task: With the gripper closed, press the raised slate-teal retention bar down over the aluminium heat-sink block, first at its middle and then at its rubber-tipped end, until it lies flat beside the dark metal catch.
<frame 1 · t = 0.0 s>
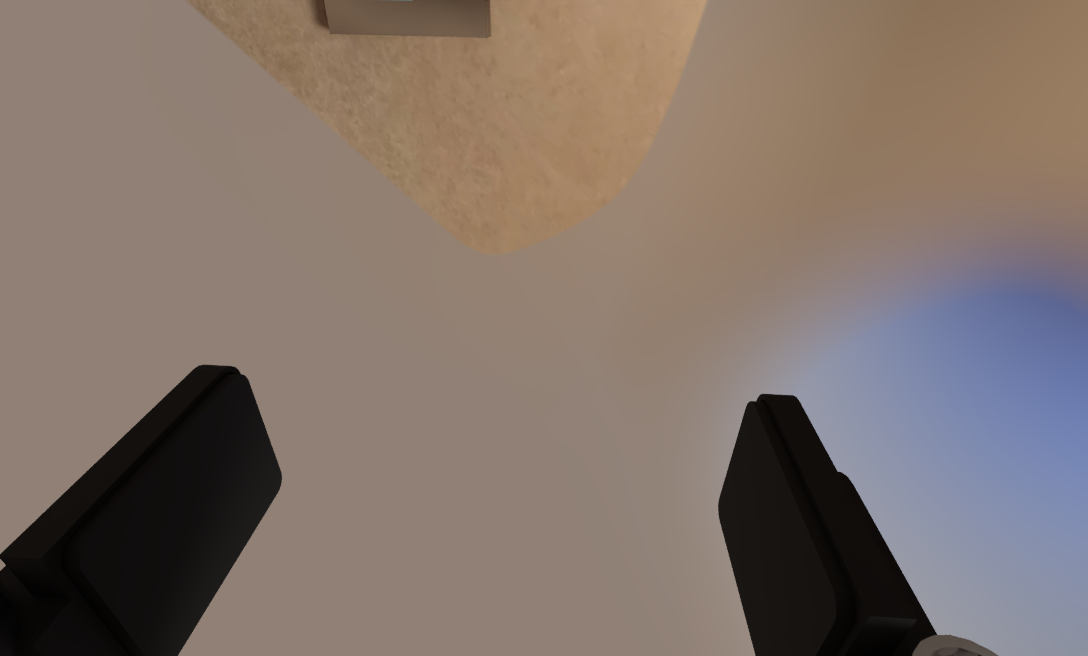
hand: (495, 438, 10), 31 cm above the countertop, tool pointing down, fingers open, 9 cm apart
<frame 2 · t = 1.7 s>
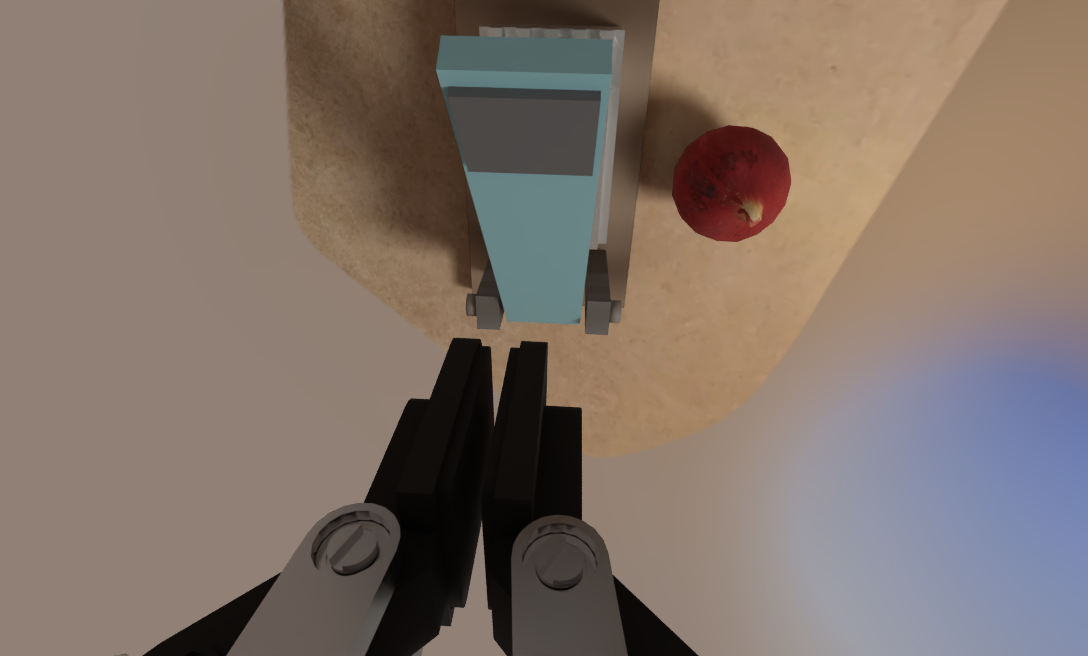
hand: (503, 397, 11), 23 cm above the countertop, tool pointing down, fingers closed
heat sink: (553, 124, 30), resting on clip base
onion: (713, 164, 31), on the countertop
clip base: (553, 115, 30), on the countertop
retention bar: (538, 241, 21), point 12 cm above the countertop, hinge at 40.0°
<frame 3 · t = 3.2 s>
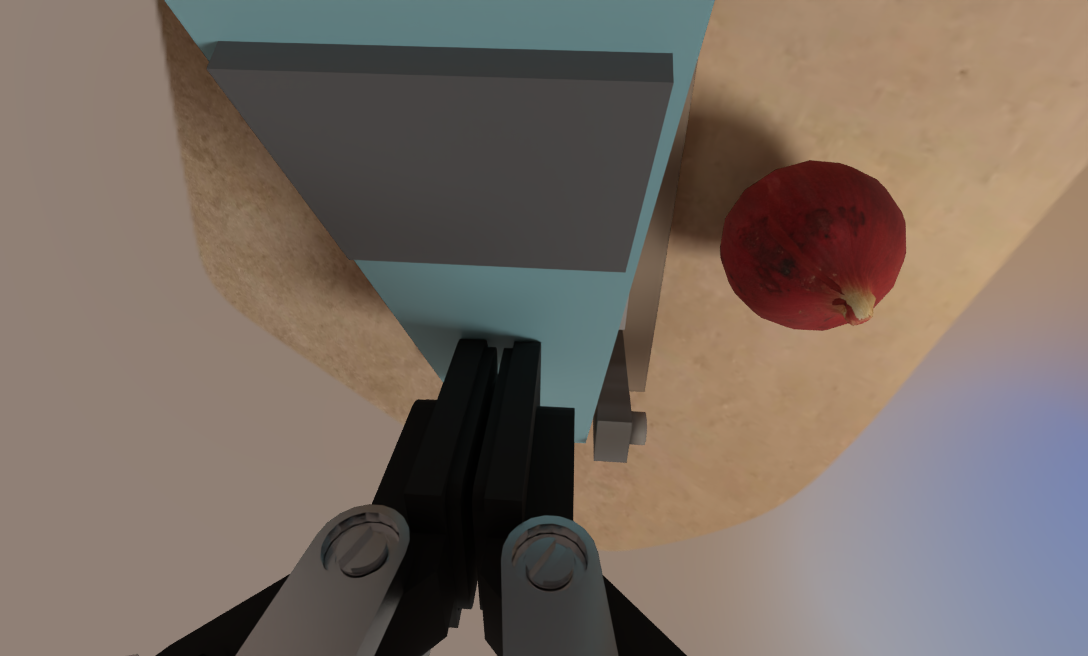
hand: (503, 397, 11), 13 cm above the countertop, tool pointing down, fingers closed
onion: (774, 207, 22), on the countertop
clip base: (550, 139, 21), on the countertop
retention bar: (518, 356, 12), point 12 cm above the countertop, hinge at 34.6°, touching gripper
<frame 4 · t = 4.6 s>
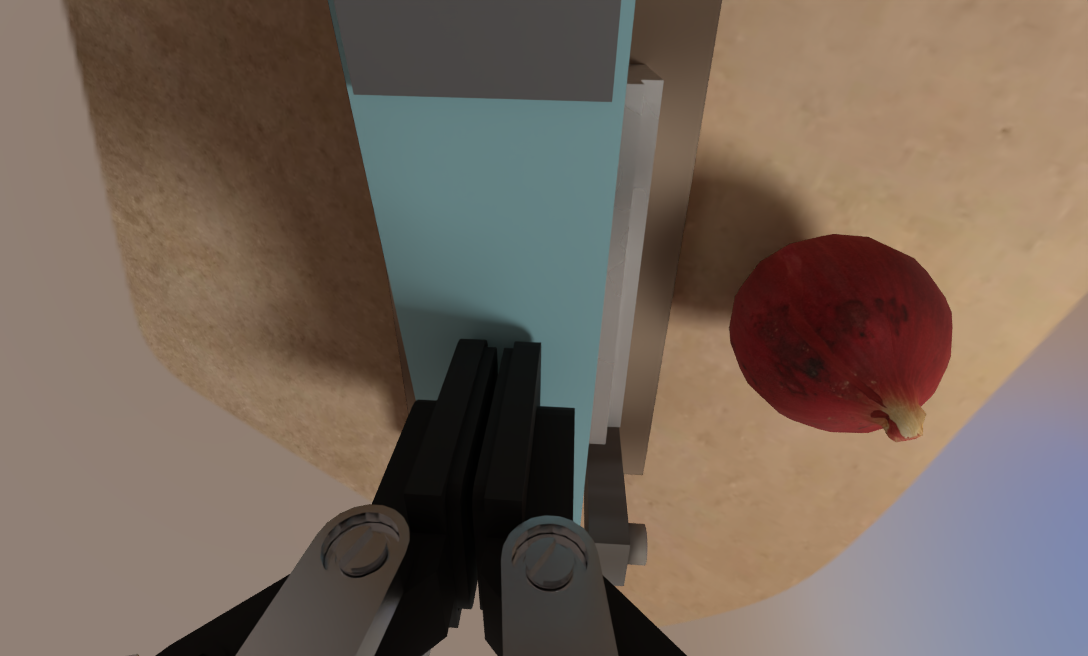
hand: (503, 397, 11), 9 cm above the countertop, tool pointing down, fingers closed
heat sink: (532, 215, 19), resting on clip base
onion: (788, 275, 19), on the countertop
clip base: (532, 201, 18), on the countertop
retention bar: (503, 355, 11), point 9 cm above the countertop, hinge at 8.8°
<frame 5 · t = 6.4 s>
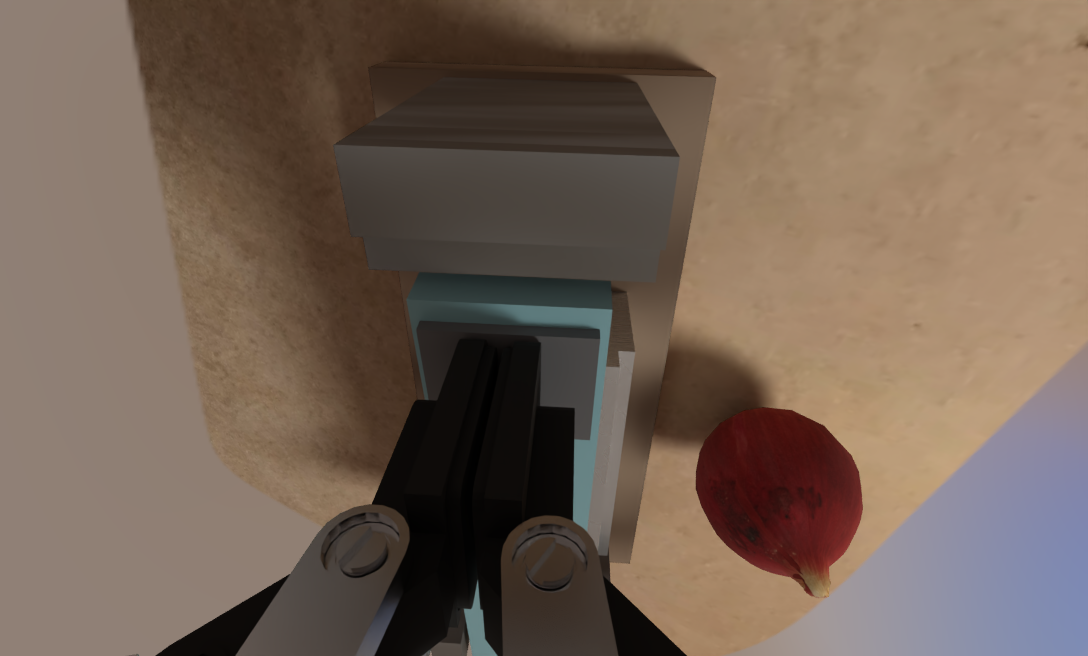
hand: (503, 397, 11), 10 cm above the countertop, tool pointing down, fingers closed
heat sink: (538, 372, 23), resting on clip base
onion: (748, 416, 24), on the countertop
clip base: (538, 363, 23), on the countertop
retention bar: (518, 537, 16), point 8 cm above the countertop, hinge at 5.6°, touching gripper
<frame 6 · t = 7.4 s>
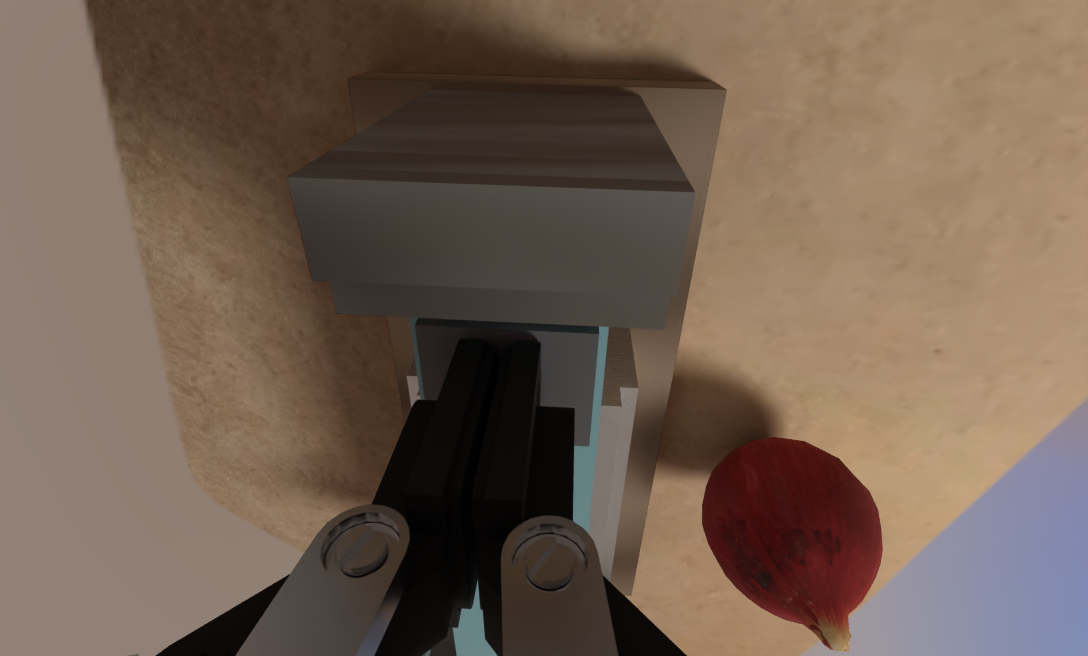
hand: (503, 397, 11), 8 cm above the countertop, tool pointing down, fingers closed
heat sink: (534, 399, 21), resting on clip base
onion: (756, 444, 22), on the countertop
clip base: (534, 389, 21), on the countertop
retention bar: (515, 562, 15), point 7 cm above the countertop, hinge at 0.0°, touching gripper
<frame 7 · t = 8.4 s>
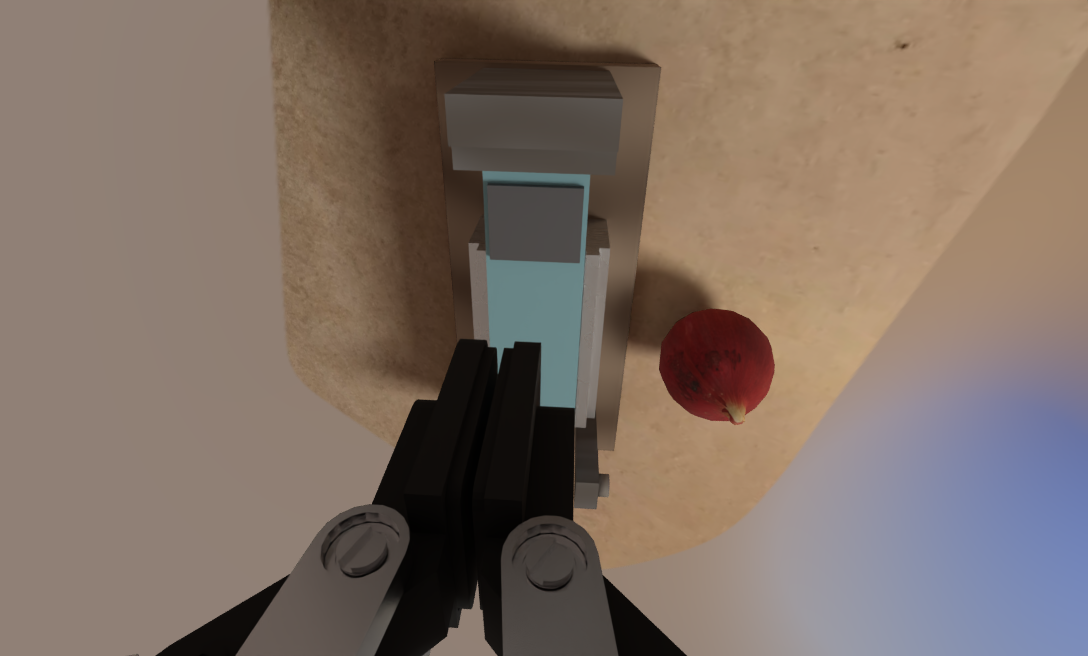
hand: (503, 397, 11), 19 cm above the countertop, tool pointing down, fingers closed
heat sink: (543, 290, 31), resting on clip base
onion: (700, 325, 32), on the countertop
clip base: (543, 283, 30), on the countertop
retention bar: (534, 364, 24), point 7 cm above the countertop, hinge at 0.0°
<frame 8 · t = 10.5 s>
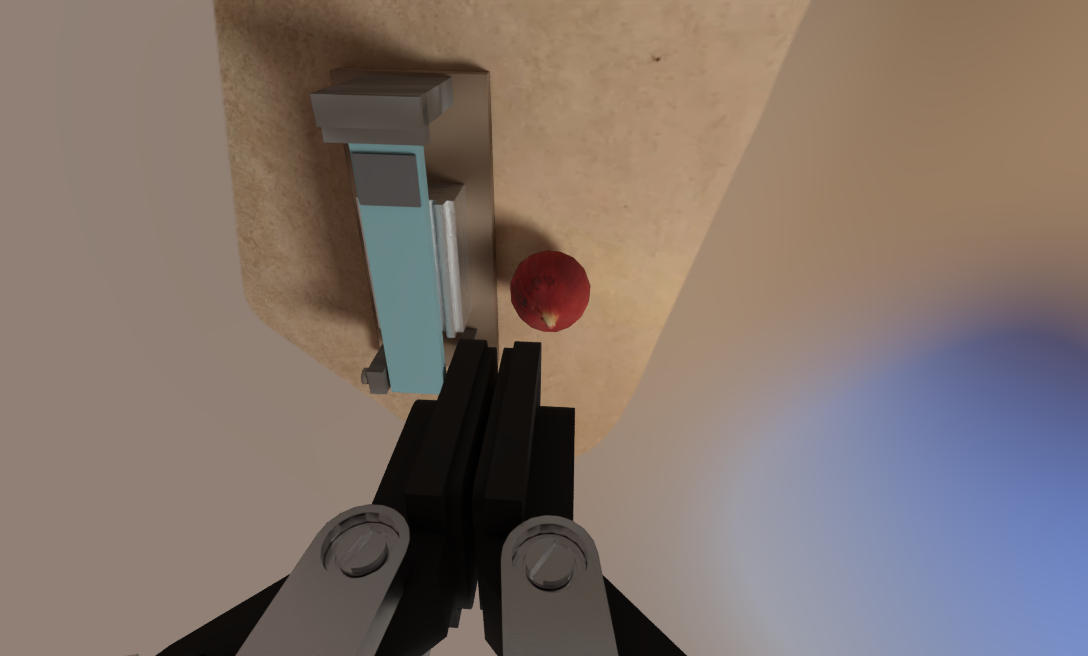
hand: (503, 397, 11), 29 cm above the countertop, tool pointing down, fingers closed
heat sink: (431, 240, 41), resting on clip base
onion: (552, 268, 42), on the countertop
clip base: (430, 234, 41), on the countertop
retention bar: (404, 283, 35), point 7 cm above the countertop, hinge at 0.0°
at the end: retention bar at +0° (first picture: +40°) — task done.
